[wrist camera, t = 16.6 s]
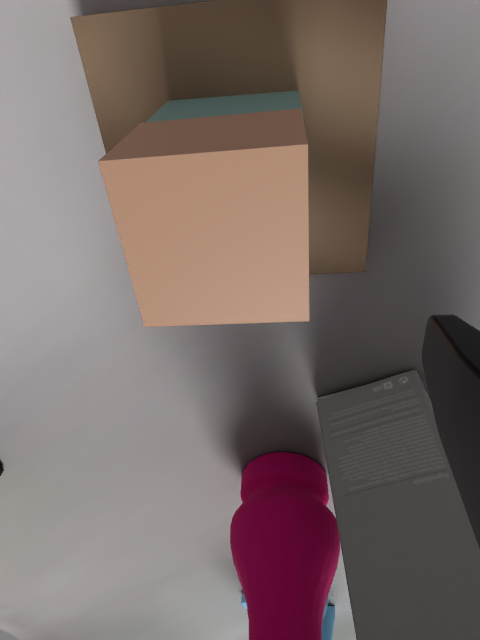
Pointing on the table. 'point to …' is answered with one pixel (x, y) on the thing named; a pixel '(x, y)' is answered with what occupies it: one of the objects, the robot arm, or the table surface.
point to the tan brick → (214, 217)
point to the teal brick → (227, 105)
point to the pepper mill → (285, 546)
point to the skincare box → (399, 515)
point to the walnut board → (257, 88)
